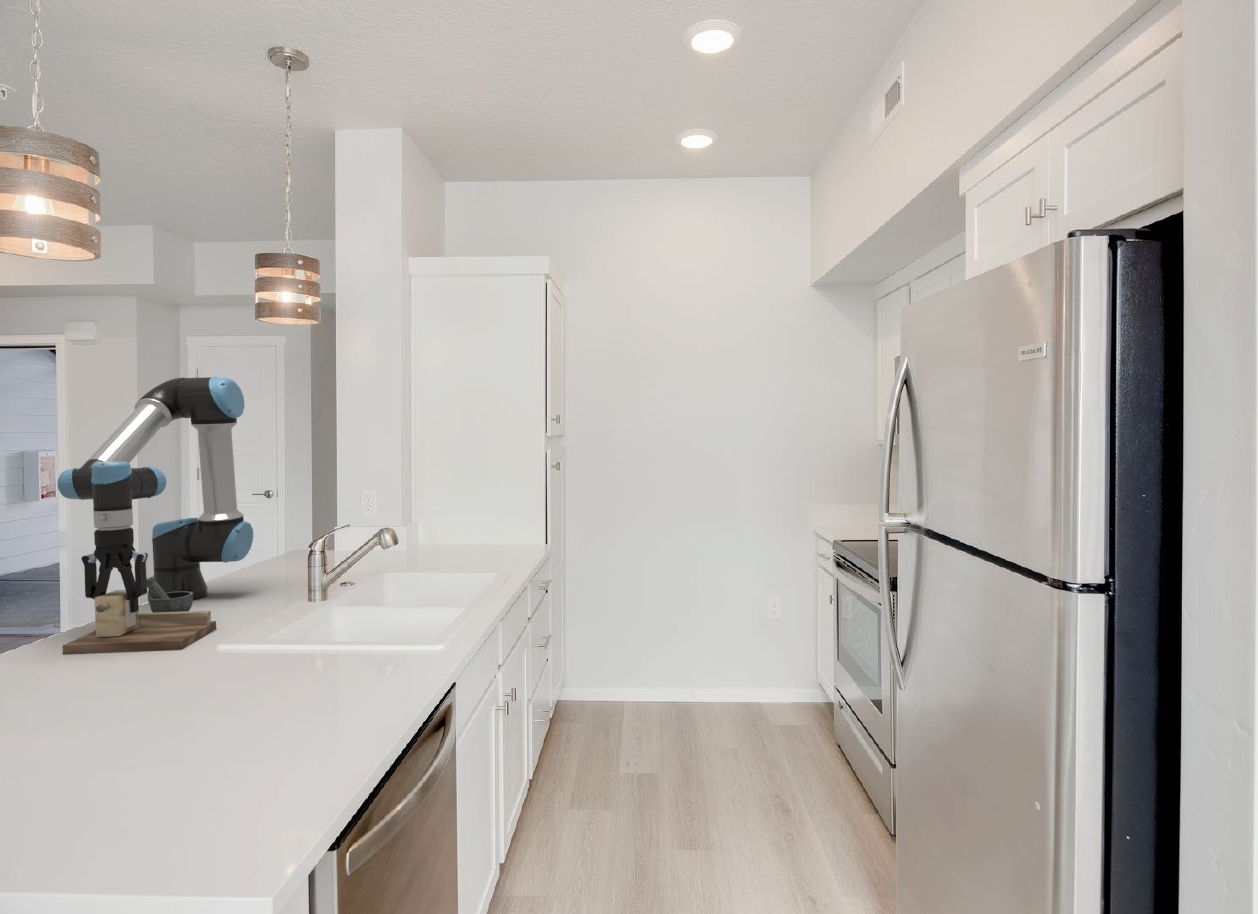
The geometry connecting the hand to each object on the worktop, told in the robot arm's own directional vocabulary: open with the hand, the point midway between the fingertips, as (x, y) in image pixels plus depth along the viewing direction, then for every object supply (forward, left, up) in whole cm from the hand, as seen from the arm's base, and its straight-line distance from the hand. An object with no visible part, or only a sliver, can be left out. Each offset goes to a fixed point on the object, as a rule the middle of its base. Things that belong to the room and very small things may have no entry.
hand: (117, 626), depth 172 cm
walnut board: (+1, +6, -4) cm, 7 cm away
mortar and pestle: (-17, +3, -4) cm, 18 cm away
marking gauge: (0, 0, -1) cm, 1 cm away
